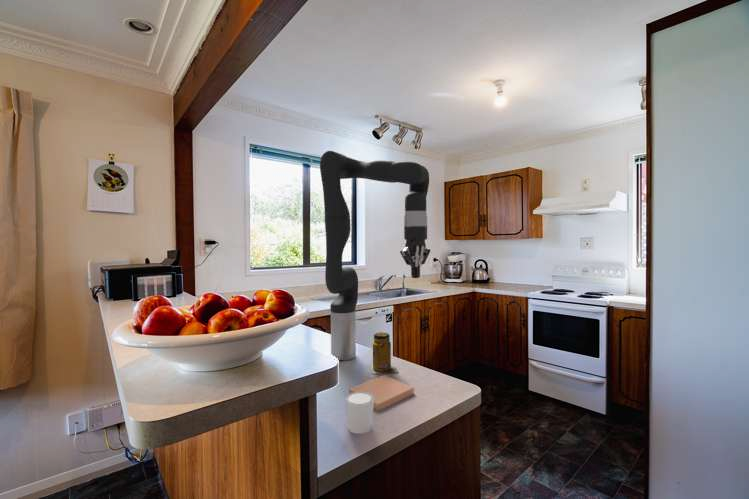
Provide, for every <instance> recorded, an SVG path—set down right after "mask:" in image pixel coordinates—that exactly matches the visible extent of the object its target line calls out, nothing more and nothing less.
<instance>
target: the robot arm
mask: <svg viewBox="0 0 749 499" xmlns="http://www.w3.org/2000/svg"><path fill="white" fill-rule="evenodd" d="M319 169H320V178H321V183H322V184H321V185H322V191H323V192H322V193H323V204H324V227H325V228H324V229H325V246H326V247H325V249H326V250H325V252H326V254H325V255H326V257H325V274H324V276H325V285H326V289H327V290H328V292H329V293H331V294H334V295H337V294H338V295H337V297H336V299H334V300H333V301H332V302H331V303H330V355H331V354H332V355H333V356H335V357H336V358H338V359H340V360H344V361H350V360H353V359H354V358H356V357H357V354H356V353H357V346H356V345H357V344H356V343H357V341H356V340H357V335H356V331H357V330H356V325H357V323H356V319H357V318H356V307H357V304H358V297H359V296H358V295H359V276H358V273H357V271H356V270H355V268H353V267H350V266H344V267H343V253H344V250H345V247H346V244H347V243H348V240H349V238H350V235H351V229H352V228H351V227H352V226H351V214H350V211H349V207H348V204H347V201H346V199H345V197H344V194H343V192H342V185H341V184H342V183H341V180H344V179H346V180H347V179H348V180H349V179H365V180H369V181H370V180H371V181H375V182H382V183H383V182H385V183H391V184H393V183H394V184H396V183H400V184H406V185H409V188H408V193H407V194H406V195H405V197H404V216H403V217H404V218H403V219H404V221H403V229H404V230H403V231H404V232H403V239H404V240H405V245H404V248H403V249H401V250H400V252H399V253H400V255H401V257H402V258H403V260H404V262H405V264H406V265H407V266H410V267H411V268H410V272H411V274H410V275H411V278H413V279H420V276H421V267H422V265H425V263H426V261H427V259H428V257H429V256H430V253H431V249H430V248H427V247H426V246H427V245H426V240H428V216H427V215H428V214H427V213H428V212H427V196H428V193H429V185H430V172H429V170H428V169H427V168H426V166H424V165H422V164H419V163H418V162H412V161H398V162H397V161H392V160H380V159H375V160H360V159H355V158H351V157H350V156H349V157H348V156H346V155H345V154H342V153H340V152H339V151H335V150H327V151H325V152H324V153H323V154H322V156H321V158H320V161H319ZM340 360H339V361H340Z"/></svg>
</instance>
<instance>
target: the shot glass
mask: <svg viewBox="0 0 749 499" xmlns="http://www.w3.org/2000/svg"><path fill="white" fill-rule="evenodd" d="M344 401H345V409H346V410H345V412H346V420H347V421H346V422H347V429H348V430H349V432H350V433H353V434H356V435H357V434H358V435H360V434H361V435H362V434H366V433H369V432H370V431H371V430H372V428H373V419H374V418H373V416H374V409H373V407H374V396H373V395H371V394H369V393H367V392H354V393H351V394H349V393H348V394H347V395H346V396H345V398H344Z"/></svg>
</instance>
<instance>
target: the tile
mask: <svg viewBox="0 0 749 499" xmlns="http://www.w3.org/2000/svg"><path fill="white" fill-rule="evenodd" d="M414 389H415V387H413V386H411V385H409V384H406V383H405V382H402V381H401V380H400V381H399V380H397V379H395V378H392V377H391V376H388V375H386V374H383V375H381V376H378V377H376V378H373V379H371V380H368V381H365V382H363V383H360V384H358V385H355V386H352V387H349V388H348V395H349V394H351V393H354V392H367V393H369V394H371V395H373V396H374V407H373V410H375V411H378V412H379V411H382V410H383V409H385V408H387V407H389V406H391V405H394V404H395V403H397V402H399V401H402V400H404V399H405V398H408V397H410V396H411V395H414V392H415V390H414Z"/></svg>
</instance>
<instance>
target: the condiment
mask: <svg viewBox="0 0 749 499" xmlns="http://www.w3.org/2000/svg"><path fill="white" fill-rule="evenodd" d="M391 346H392V344H391V341H390V334H389V333H388V332H376V333H374V335H373V341H372V364H371V365H370V366H371V371H372V374H373V375H375V374H376V375H377V374H378V375H379V374H388V373H389V374H391V373H392V374H393V373H399V370H398V368H397V365H396V364H395V363H392V360H391V359H392V358H391V355H392V353H391V352H392V351H391V349H392V348H391Z"/></svg>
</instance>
